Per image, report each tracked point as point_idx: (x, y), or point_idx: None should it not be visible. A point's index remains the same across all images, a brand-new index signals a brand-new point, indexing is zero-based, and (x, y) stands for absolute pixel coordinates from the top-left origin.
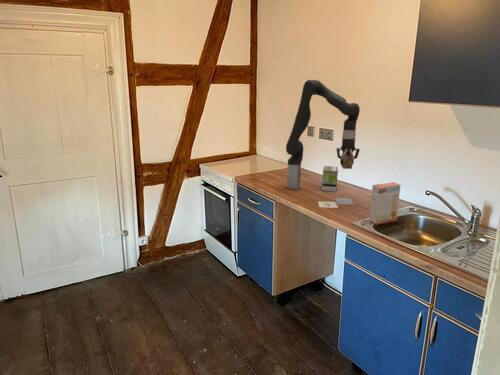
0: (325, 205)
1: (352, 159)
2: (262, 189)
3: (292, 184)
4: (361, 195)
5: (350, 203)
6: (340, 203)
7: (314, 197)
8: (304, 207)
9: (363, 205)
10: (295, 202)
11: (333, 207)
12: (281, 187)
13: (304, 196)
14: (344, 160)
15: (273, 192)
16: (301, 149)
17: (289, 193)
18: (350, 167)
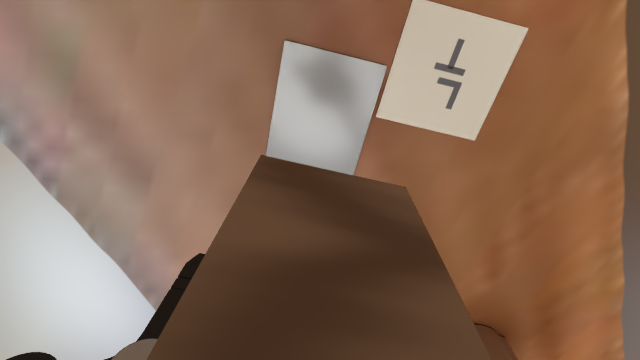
0: (471, 59)
1: (191, 284)
2: (619, 343)
3: (499, 348)
4: (183, 199)
5: (300, 64)
6: (363, 74)
7: (449, 209)
8: (619, 49)
9: (226, 22)
10: (604, 149)
11: (443, 8)
12: (518, 352)
13: (492, 231)
14: (452, 302)
15: (601, 304)
16: None
17: (537, 281)
18: (283, 169)
